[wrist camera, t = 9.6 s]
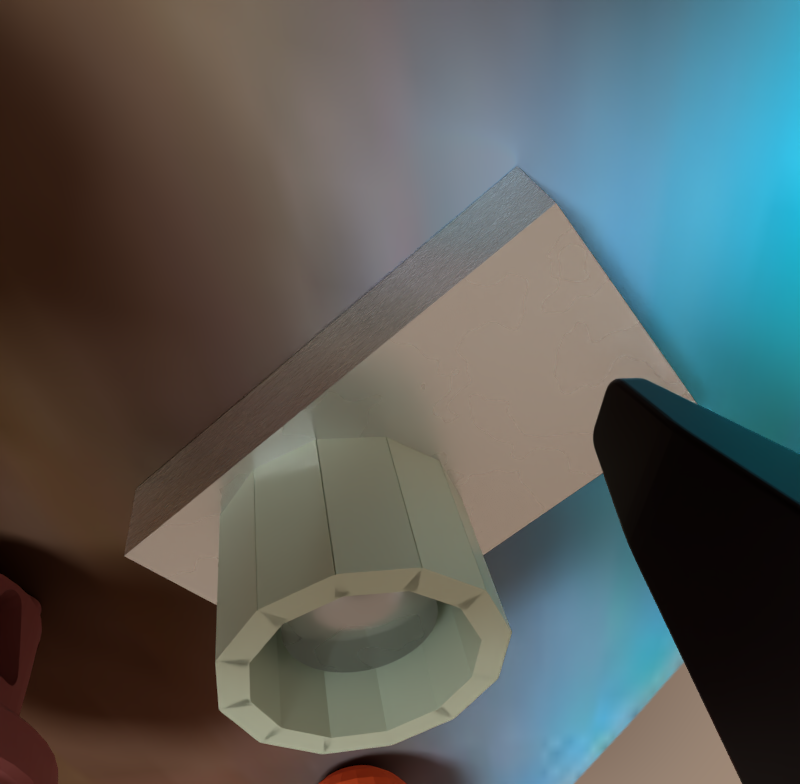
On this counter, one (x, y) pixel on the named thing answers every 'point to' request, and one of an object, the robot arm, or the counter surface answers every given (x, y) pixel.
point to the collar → (350, 576)
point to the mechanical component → (20, 690)
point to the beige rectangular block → (425, 405)
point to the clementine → (362, 776)
